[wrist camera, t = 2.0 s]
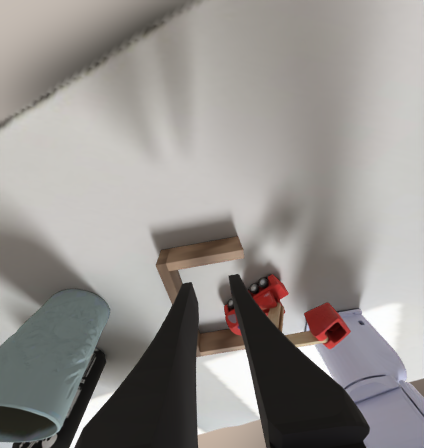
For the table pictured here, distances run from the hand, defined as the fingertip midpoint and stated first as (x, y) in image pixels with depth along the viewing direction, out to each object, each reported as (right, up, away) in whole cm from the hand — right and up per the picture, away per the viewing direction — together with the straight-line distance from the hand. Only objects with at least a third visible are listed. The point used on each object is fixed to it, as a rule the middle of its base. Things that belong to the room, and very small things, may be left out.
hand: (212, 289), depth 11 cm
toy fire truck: (+7, -6, +15) cm, 18 cm away
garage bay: (+1, -7, +15) cm, 17 cm away
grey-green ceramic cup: (-20, -9, +15) cm, 27 cm away
